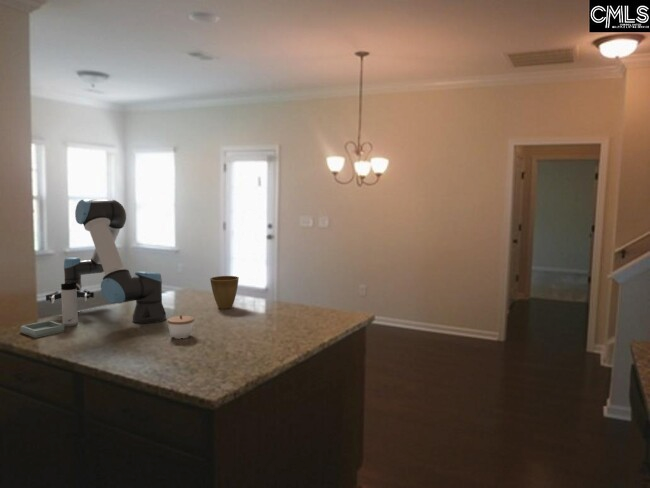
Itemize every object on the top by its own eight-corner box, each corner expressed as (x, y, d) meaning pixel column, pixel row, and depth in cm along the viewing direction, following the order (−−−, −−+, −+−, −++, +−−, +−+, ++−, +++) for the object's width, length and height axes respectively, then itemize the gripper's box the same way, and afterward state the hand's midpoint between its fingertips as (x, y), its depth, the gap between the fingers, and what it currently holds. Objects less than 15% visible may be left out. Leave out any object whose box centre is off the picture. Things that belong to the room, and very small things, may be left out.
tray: (64, 331, 212) (64, 325, 211) (35, 337, 202) (34, 331, 202) (49, 326, 219) (49, 320, 219) (20, 332, 209) (20, 325, 209)
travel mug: (72, 327, 218) (70, 283, 216) (59, 326, 220) (57, 282, 218) (81, 323, 225) (80, 280, 223) (69, 322, 226) (67, 280, 224)
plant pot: (229, 303, 272) (229, 274, 270) (244, 307, 261) (244, 278, 259) (205, 306, 262) (204, 277, 260) (219, 312, 251) (219, 281, 249)
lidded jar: (199, 334, 210) (199, 313, 209) (184, 341, 200) (184, 319, 199) (178, 332, 213) (177, 311, 212) (162, 338, 203) (162, 316, 202)
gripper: (99, 296, 250) (99, 305, 230) (43, 300, 239) (38, 309, 220) (99, 282, 249) (98, 289, 230) (43, 285, 239) (37, 293, 219)
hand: (69, 299), depth 225 cm, fingers open, 13 cm apart
